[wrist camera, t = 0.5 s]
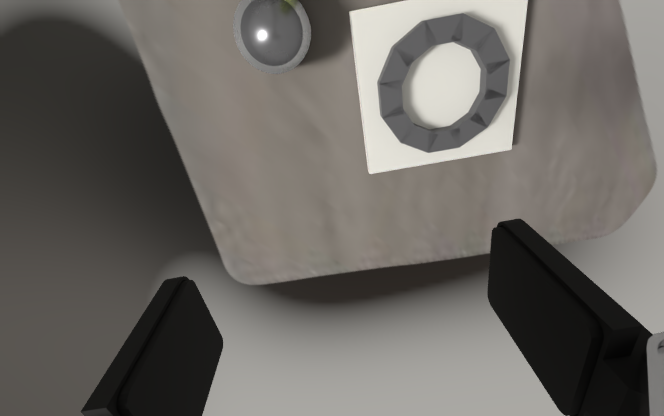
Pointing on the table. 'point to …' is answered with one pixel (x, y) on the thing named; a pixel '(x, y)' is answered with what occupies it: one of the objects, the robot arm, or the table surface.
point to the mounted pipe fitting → (437, 79)
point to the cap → (272, 33)
